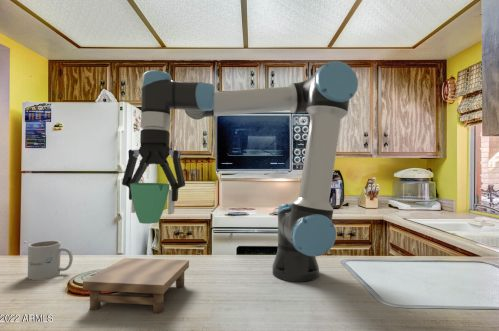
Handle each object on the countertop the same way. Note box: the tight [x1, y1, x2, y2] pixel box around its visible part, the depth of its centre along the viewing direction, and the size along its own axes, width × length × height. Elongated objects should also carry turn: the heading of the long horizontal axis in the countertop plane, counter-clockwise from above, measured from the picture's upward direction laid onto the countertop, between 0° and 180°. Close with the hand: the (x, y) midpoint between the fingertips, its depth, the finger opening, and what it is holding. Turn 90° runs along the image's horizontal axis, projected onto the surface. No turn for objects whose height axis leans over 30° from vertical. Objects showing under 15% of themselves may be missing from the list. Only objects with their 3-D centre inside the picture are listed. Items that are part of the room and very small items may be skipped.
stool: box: [82, 257, 190, 314], centre depth 83 cm, size 20×20×7 cm
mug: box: [27, 240, 74, 281], centre depth 99 cm, size 12×9×10 cm
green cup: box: [130, 182, 170, 225], centre depth 83 cm, size 15×10×10 cm
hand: (152, 212), depth 83 cm, fingers closed on green cup, 9 cm apart
